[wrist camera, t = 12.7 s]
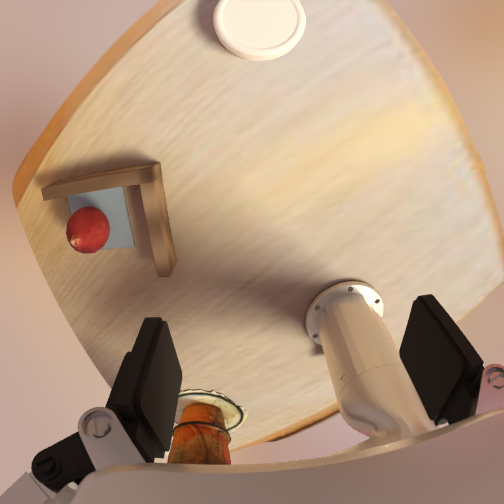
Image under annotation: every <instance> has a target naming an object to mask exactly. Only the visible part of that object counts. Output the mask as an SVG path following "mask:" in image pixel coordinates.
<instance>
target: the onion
mask: <svg viewBox="0 0 504 504" xmlns="http://www.w3.org/2000/svg"><path fill="white" fill-rule="evenodd" d="M66 234H67V239H68V241H69V243H70V245H71V246H72V247H73V248H74V249H75V250H76V251H78V252H81V253H95V252H96V251H98V250H100V249H101V248H102V247H104V245H105V244H106V242H107V240H108V238H109V234H110V225H109V221H108V218H107V217H106V215H105V214H104V213H103V212H102V211H101V210H100V209H97V208H95V207H91V206H90V207H83V208H80V209H79V210H77V211H76V212H74V213H73V214H72V216H71V218H70V219H69V221H68V223H67V230H66Z"/></svg>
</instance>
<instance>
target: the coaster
mask: <svg viewBox="0 0 504 504" xmlns="http://www.w3.org/2000/svg"><path fill="white" fill-rule="evenodd" d="M213 24H214V28H215V31H216V34H217V36H218V38H219V40H220V42H221V43H222V44H223V46H224V47H225V48H226V49H227V50H229V51H230V52H231V53H233V54H235V55H236V56H239V57H241V58H244V59H247V60H254V61H265V60H271V59H274V58H277V57H280V56H282V55H284V54H286V53H287V52H288V51H290V50H291V49H292V48H293V47H294V46H295V45H296V43H297V42H298V41H299V39H300V38H301V36H302V34H303V32H304V29H305V24H306V18H305V13H304V9H303V7H302V5H301V3H300V2H299V0H219V2H218V3H217V5H216V7H215V10H214V14H213Z"/></svg>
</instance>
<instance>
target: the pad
mask: <svg viewBox="0 0 504 504" xmlns="http://www.w3.org/2000/svg"><path fill="white" fill-rule="evenodd" d="M67 199H68V203H69V208H70V212H71V216H72V214H73V213H74V212H76V211H77V210H79V209H80V208H83V207H90V206H91V207H95V208H97V209H100V210H101V211H102V212H103V213H104V214H105V215H106V217H107V218H108V221H109V225H110V234H109V238H108V240H107V242H106V244H105V245H104V247H102V248H101V249H100V250H102V249H114V248H126V247H135V243H134V239H133V234H132V229H131V225H130V220H129V215H128V210H127V205H126V200H125V195H124V189H123V187H117V188H111V189H105V190H98V191H93V192H87V193H81V194H76V195H70V196H67Z"/></svg>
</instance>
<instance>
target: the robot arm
mask: <svg viewBox="0 0 504 504" xmlns="http://www.w3.org/2000/svg"><path fill="white" fill-rule="evenodd" d="M383 310H384V307H383V301H382V299H381V296H380V295H379V293H378V292H377V291H376V290H375V289H374V288H373V287H372V286H370V285H369V284H366V283H363V282H358V281H348V282H343V283H339V284H336V285H334V286H331V287H329V288H328V289H326V290H324V291H323V292H322V293H321V294H319V295H318V296H317V297H316V298H315V299H314V300H313V302H312V303H311V305H310V306H309V308H308V311H307V313H306V319H305V321H306V328H307V332H308V334H309V336H310V337H311V339H312V340H313V341H314V342H316V343H317V344H319V345H321V346H322V347H323V351H324V354H325V358H326V361H327V365H328V369H329V372H330V376H331V379H332V383H333V387H334V391H335V394H336V398H337V402H338V405H339V409H340V412H341V415H342V417H343V419H344V420H345V421H346V423H347V424H348V425H349V426H351V427H352V428H353V429H355V430H356V431H358V432H360V433H362V434H364V435H366V436H368V437H370V438H369V439H368V440H366V441H363V442H361V443H359V444H358V445H356V446H353V447H351V448H348V449H345V450H343V451H340V452H337V453H335V454H332V455H329V456H326V457H321V458H314V459H307V460H299V461H289V462H278V463H264V464H242V465H196V464H172V463H154V458H164V454H165V451H169V450H170V445H171V439H172V433H173V427H174V421H175V415H176V409H177V404H178V398H179V393H180V387H181V382H182V370H181V367H180V364H179V361H178V357H177V354H176V351H175V348H174V344H173V341H172V338H171V334H170V331H169V327H168V324H167V322H166V321H162V319H161V318H160V317H146V318H145V319H144V321H143V324H142V326H141V329H140V331H139V334H138V336H137V339H136V341H135V344H134V346H133V349H132V351H131V352H127V353H126V355H125V356H124V359H123V362H122V364H121V367H120V369H119V372H118V374H117V377H116V380H115V382H114V385H113V388H112V390H111V393H110V396H109V398H108V401H107V404H106V407H105V408H104V407H95V408H92V409H90V410H88V411H86V412H85V413H84V414H83V415H82V416H81V418H80V420H79V422H78V432H76V433H74V434H73V435H71V436H69V437H67V438H65V439H63V440H61V441H59V442H58V443H56V444H54V445H52V446H50V447H48V448H46V449H44V450H42V451H41V452H39V453H38V454H37V455H36V456H35V457H34V459H33V462H32V467H31V469H32V471H31V472H30V473H27V472H25V473H24V474H23V475H22V476H21V477H20V478H19V479H18V480H17V481H16V482H15V483H14V484H13V485H12V486H11V487H10V488H8V489H7V490H6V491H5V492H4V493H3V494H2V495H1V496H0V504H504V366H502V365H499V364H490V365H488V366H486V368H484V367H483V363H484V362H483V360H482V359H481V357H480V356H479V354H478V353H477V352H476V350H475V349H474V348H473V346H472V345H471V343H470V342H469V341H468V340H467V338H466V337H465V335H464V334H463V333H462V331H461V330H460V329H459V327H458V326H457V325H456V323H455V322H454V321H453V320H452V318H451V317H450V316H449V314H448V313H447V312H446V311H445V309H444V308H443V307H442V306H441V304H440V303H439V302H438V301H437V300H436V298H435V297H434V296H433V295H432V294H429V295H422V296H418V297H417V299H416V300H415V301H414V302H413V305H412V309H411V312H410V316H409V320H408V323H407V327H406V330H405V334H404V337H403V340H402V344H401V347H400V350H398V348H397V346H396V344H395V342H394V340H393V339H392V337H391V335H390V333H389V331H388V330H387V328H386V326H385V324H384V322H383V321H382V316H383ZM447 421H448V423H449V425H448V426H446V427H442V426H441V424H444V423H447Z"/></svg>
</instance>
